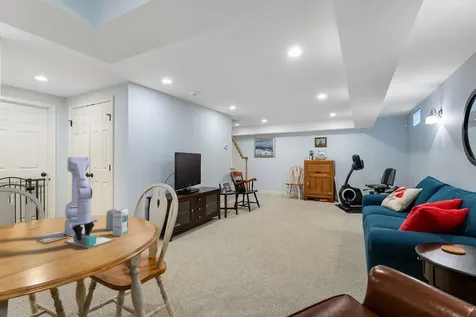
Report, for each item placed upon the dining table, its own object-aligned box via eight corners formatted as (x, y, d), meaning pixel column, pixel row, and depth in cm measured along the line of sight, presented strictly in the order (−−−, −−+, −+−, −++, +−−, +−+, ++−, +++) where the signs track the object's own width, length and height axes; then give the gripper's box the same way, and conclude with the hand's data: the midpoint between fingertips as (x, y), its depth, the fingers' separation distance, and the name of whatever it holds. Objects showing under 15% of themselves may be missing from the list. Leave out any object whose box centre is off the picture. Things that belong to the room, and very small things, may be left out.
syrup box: (121, 236, 139) (122, 210, 139) (112, 235, 140) (112, 209, 140) (127, 233, 145) (128, 208, 145) (119, 232, 146) (119, 208, 146)
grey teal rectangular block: (73, 241, 125) (73, 234, 125) (80, 239, 128) (80, 232, 128) (88, 245, 119) (89, 238, 119) (96, 243, 123) (96, 236, 123)
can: (122, 228, 155) (122, 209, 155) (112, 231, 148) (113, 211, 148) (112, 227, 157) (113, 208, 158) (103, 230, 150) (103, 210, 151)
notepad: (64, 242, 127) (64, 240, 127) (91, 235, 140) (91, 234, 140) (87, 248, 119) (88, 247, 119) (113, 240, 132) (113, 239, 132)
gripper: (73, 215, 116) (72, 244, 116) (102, 210, 129) (101, 236, 129) (64, 213, 119) (63, 242, 119) (93, 208, 132) (93, 234, 132)
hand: (82, 239), depth 124 cm, fingers closed on grey teal rectangular block, 3 cm apart
